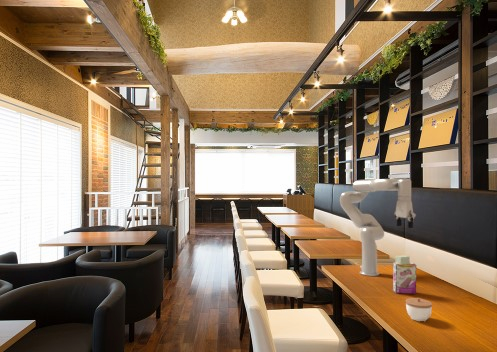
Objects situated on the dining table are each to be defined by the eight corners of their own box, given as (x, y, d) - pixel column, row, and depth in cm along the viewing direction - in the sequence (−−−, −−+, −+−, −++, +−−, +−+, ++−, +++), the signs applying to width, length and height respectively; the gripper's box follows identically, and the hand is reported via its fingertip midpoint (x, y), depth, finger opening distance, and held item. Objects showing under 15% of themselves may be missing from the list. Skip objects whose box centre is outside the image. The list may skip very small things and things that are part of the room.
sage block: (404, 262, 198) (395, 263, 196) (404, 255, 198) (395, 255, 196) (409, 263, 194) (400, 264, 192) (409, 256, 194) (400, 257, 192)
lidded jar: (409, 312, 165) (409, 292, 165) (434, 318, 158) (434, 297, 158) (402, 319, 157) (402, 298, 157) (429, 325, 150) (428, 303, 150)
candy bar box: (395, 293, 193) (395, 264, 193) (392, 290, 198) (392, 261, 198) (416, 294, 192) (416, 264, 192) (413, 291, 197) (413, 262, 197)
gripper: (389, 198, 222) (390, 225, 222) (409, 199, 206) (409, 228, 206) (399, 198, 225) (399, 225, 224) (420, 199, 208) (420, 228, 208)
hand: (404, 226), depth 215 cm, fingers open, 9 cm apart
